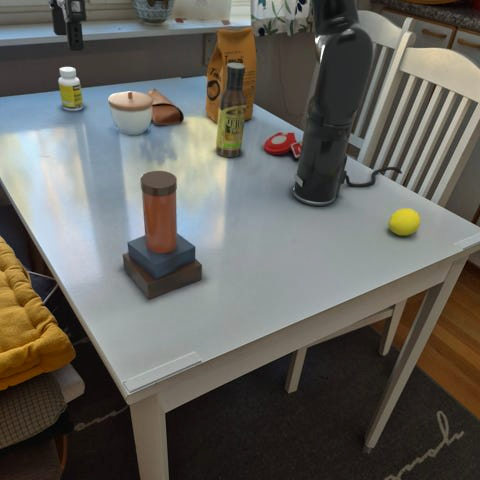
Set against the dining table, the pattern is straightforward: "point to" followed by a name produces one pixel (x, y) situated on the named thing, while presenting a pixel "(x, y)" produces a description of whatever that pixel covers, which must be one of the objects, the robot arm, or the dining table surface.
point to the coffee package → (226, 51)
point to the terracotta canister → (159, 210)
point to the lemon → (404, 221)
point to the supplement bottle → (70, 89)
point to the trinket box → (131, 111)
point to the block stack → (161, 267)
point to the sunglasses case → (164, 110)
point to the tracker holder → (283, 144)
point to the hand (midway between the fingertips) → (68, 42)
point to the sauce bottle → (231, 113)
